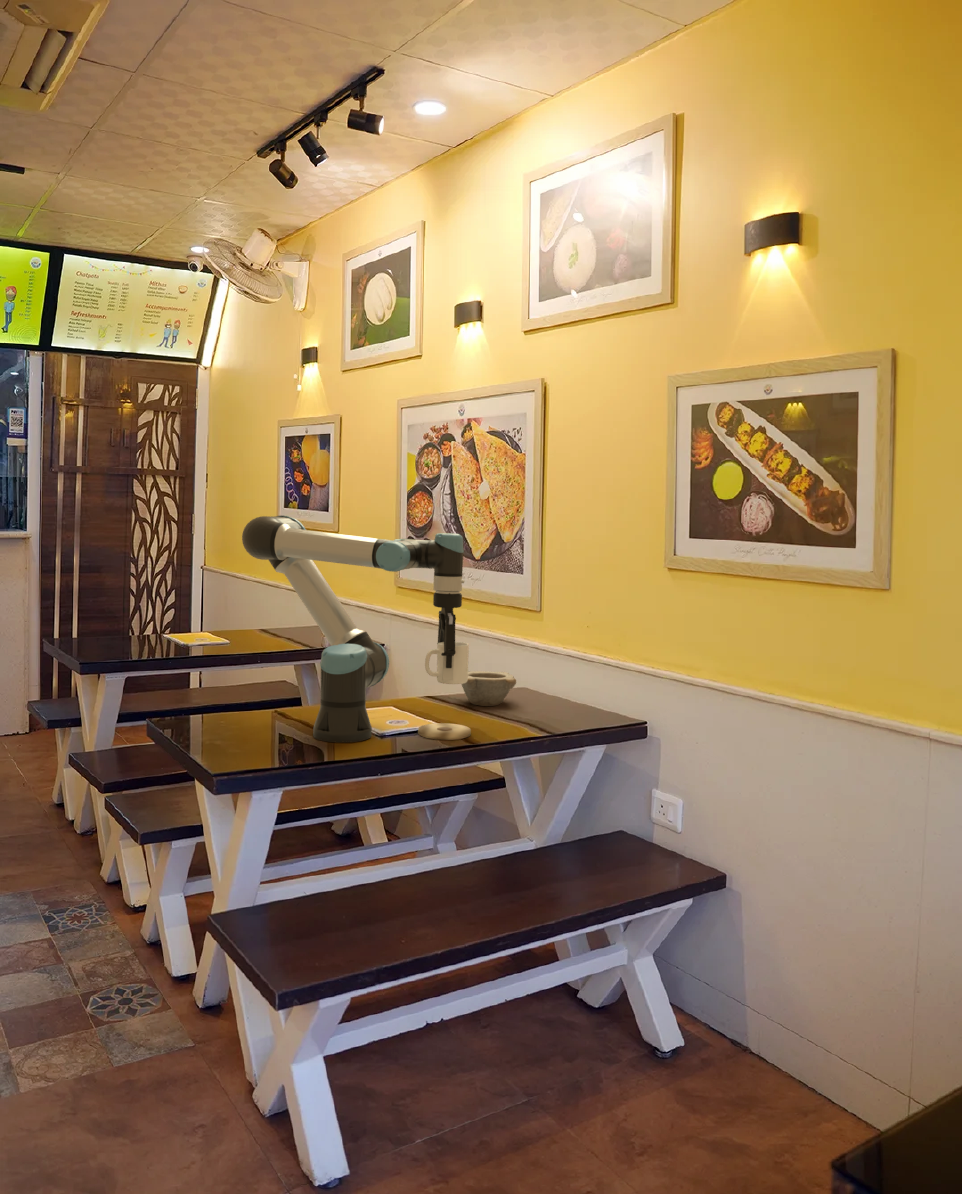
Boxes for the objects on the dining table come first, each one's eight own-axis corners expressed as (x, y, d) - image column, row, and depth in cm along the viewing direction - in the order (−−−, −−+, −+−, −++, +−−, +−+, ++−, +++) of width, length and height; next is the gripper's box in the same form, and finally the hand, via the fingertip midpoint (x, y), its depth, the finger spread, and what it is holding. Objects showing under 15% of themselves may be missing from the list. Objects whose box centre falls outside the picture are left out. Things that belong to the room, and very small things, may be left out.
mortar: (509, 698, 318) (510, 669, 317) (516, 709, 302) (517, 679, 301) (456, 698, 317) (457, 669, 316) (461, 708, 300) (462, 678, 299)
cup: (472, 683, 265) (473, 645, 264) (430, 686, 260) (431, 647, 259) (460, 678, 272) (461, 641, 271) (419, 680, 267) (419, 642, 266)
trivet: (420, 740, 259) (421, 735, 259) (415, 727, 273) (415, 723, 273) (474, 739, 261) (474, 734, 261) (466, 727, 275) (466, 722, 275)
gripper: (468, 596, 254) (465, 684, 257) (455, 588, 275) (453, 670, 277) (439, 595, 253) (436, 684, 255) (428, 588, 274) (426, 670, 276)
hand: (445, 676), depth 266 cm, fingers closed on cup, 8 cm apart
